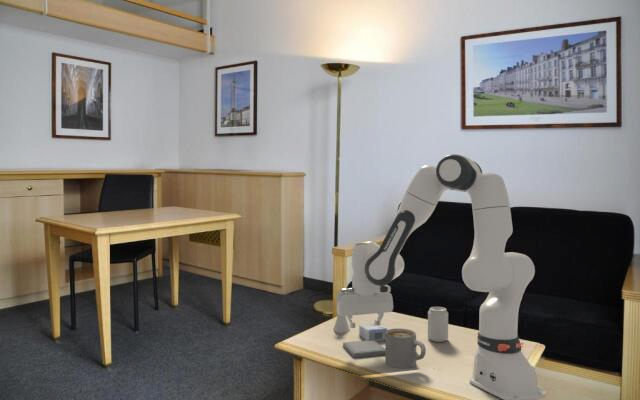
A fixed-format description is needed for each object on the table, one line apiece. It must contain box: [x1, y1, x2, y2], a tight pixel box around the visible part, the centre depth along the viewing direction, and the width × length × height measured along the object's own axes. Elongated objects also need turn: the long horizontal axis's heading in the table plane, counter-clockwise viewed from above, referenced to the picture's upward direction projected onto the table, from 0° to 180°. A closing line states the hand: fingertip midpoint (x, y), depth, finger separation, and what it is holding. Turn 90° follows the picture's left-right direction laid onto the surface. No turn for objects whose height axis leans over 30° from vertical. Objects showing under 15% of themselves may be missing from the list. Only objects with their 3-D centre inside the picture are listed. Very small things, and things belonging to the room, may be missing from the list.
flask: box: [332, 313, 351, 334], centre depth 199 cm, size 7×7×10 cm
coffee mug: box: [384, 327, 427, 369], centre depth 164 cm, size 13×10×10 cm
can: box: [427, 306, 449, 343], centre depth 190 cm, size 8×8×12 cm
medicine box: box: [358, 323, 388, 342], centre depth 192 cm, size 8×4×9 cm
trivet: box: [342, 340, 385, 359], centre depth 178 cm, size 12×12×2 cm
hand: (365, 326), depth 177 cm, fingers open, 8 cm apart
